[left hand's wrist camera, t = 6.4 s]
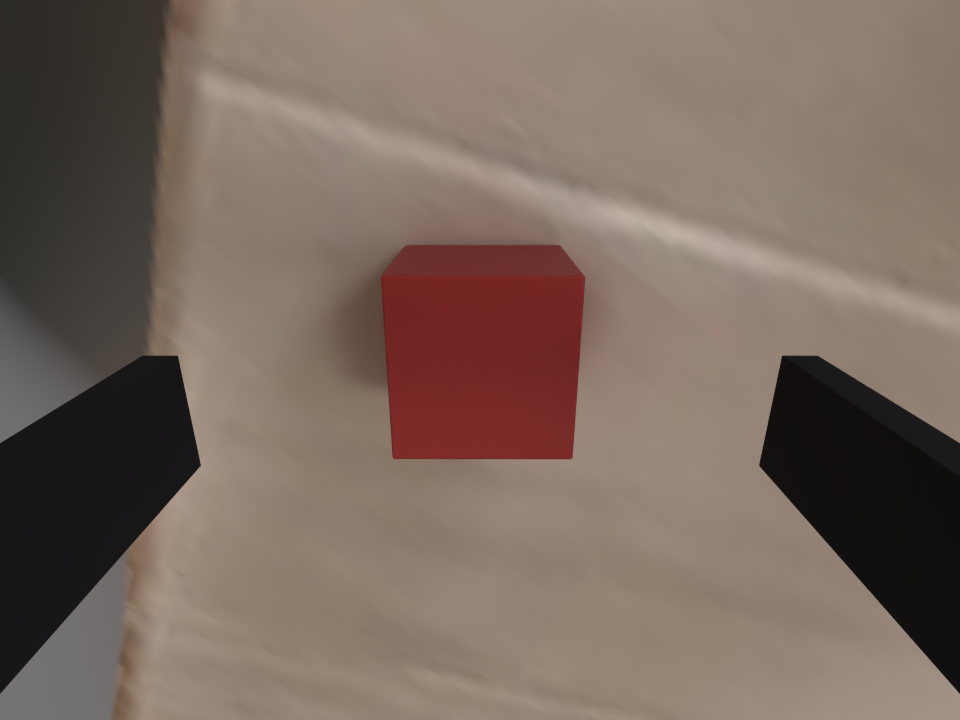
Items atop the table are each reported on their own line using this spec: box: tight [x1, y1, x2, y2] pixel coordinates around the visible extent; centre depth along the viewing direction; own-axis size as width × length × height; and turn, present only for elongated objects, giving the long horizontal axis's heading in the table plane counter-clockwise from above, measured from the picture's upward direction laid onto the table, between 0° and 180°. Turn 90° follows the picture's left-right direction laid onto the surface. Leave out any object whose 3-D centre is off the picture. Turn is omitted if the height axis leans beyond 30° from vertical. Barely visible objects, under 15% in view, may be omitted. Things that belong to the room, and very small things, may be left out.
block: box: [381, 246, 585, 459], centre depth 16 cm, size 5×5×4 cm
